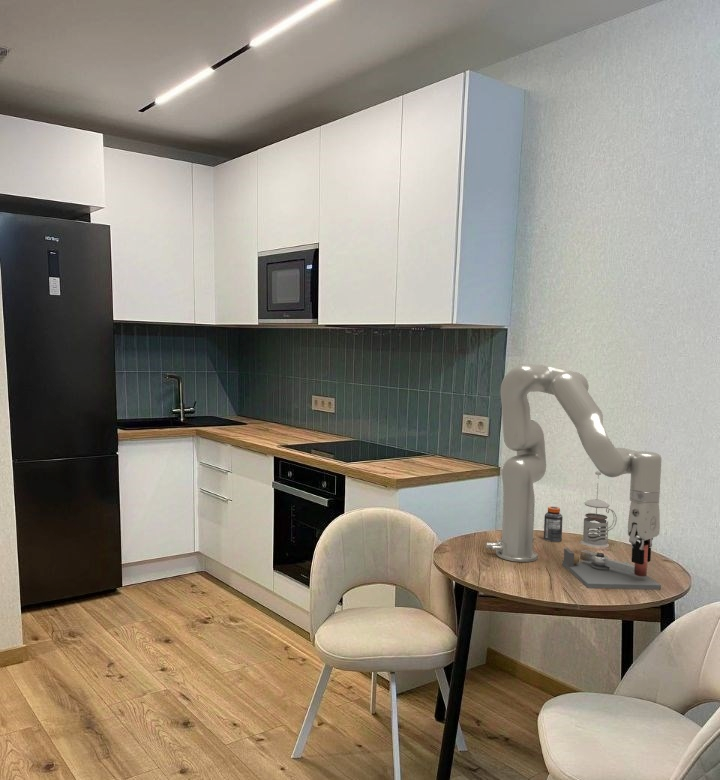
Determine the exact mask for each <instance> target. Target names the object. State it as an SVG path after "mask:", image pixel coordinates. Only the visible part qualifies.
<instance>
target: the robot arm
mask: <svg viewBox="0 0 720 780" xmlns="http://www.w3.org/2000/svg"><path fill="white" fill-rule="evenodd" d="M588 381H589V380H588V379H587V378H586V377H585V376H584V374H582V373H580V372H577V371H572V370H566V369H562V368H557V367H553V366H549V365H543V364H535V363H534V364H532V363H525V364H521V365H517V366H515V367H514V368H512V369H510V371H508V372H507V373H506V375H505V376H504V377H503V379H502V382H501V385H500V401H501V402H500V403H501V415H502V416H501V417H502V433H503V441H504V444H505V446H506V447H507V448H508V449H509V450H511V451H514V452H516V455H514V456H511V457H510V458H508V459H507V460H506V461H505V462H504V464H503V466H502V469H501V481H502V491H503V492H502V493H503V495H502V496H503V497H502V521H501V523H502V524H501V525H502V526H501V528H502V529H501V538H499V539H498V541H495V542H492V541H486V543H485V547H486V549H491V550H492V551H495V555H496V556H497V557H498V558H501V559H503V560H506V561H511V562H517V563H518V562H520V563H529V562H534V561H536V560H537V559H538V556H539V555H538V553H537V552H536V551H534V549H533V547H534V526H535V502H536V499H535V490H534V483H537V482H539V481H541V480H542V479H543V478H544V476H545V474H546V472H547V471H546V470H547V460H546V459H547V457H546V444H545V442H546V441H545V435H544V434H545V433H544V431H543V428H542V426H541V425H540V424H539V423H538V422H537V421H535V420H533V419H531V412H530V411H531V408H530V403H529V399H528V393H530V392H531V393H532V392H533V393H534V392H537V393H538V392H540V393H544V394H548V395H553V396H554V397H555V398H556V400H557V402H558V403H559V405H560V406H561V408H562V409H563V410H564V412H565V413H566V414H567V416H568V418H569V419H570V421H571V422H572V424H573V425H574V427H575V428H576V433H577V435H578V437H579V439H580V442H581V444H582V447H583V449H584V451H585V453H586V454H587V456H588V457H589V459H590V460H591V462H592V464H593V465H594V467H595V468H596V469H597V471H600V472H601V475H604V476H605V477H608V478H617V477H619V476H622V475H626V474H627V475H629V474H630V483H629V485H630V486H629V487H630V488H629V502H630V506H629V512H628V518H627V519H628V521H627V536H628V537H629V538H628V542H629V543H630V544H631V563H634V564H635V563H637V564H641V565H642V564H644V550H643V546H644V543H645V544H648V559H647V563H650V562H651V558H652V557H651V555H652V546H653V540H654V538H657V537H658V536H659V535H660V531H661V529H660V526H661V525H660V524H661V520H660V519H661V517H660V516H661V515H660V512H661V511H660V494H661V491H660V490H661V473H662V456H661V455H660V454H659V453H658V452H654V451H645V450H644V451H643V450H641V451H638V450H633V449H628V448H625V447H615V445H614V444H613V442H612V441H611V439H610V438H609V436H608V434H607V433H606V430H605V427H604V415H603V411H602V410H601V409H600V407H599V405H598V404H597V402H596V401H595V400H594V398H593V397H592V396H591V394H590V392H589V382H588ZM637 536H638V537H637Z"/></svg>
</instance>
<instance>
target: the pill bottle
mask: <svg viewBox="0 0 720 780" xmlns="http://www.w3.org/2000/svg"><path fill="white" fill-rule="evenodd" d="M543 524H544V525H543V540H545V541H546V542H551V541H552V543H559V542H562V539H563V514H561V508H560V507H559V506H547V512H546V513H544V523H543Z"/></svg>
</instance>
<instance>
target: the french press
mask: <svg viewBox="0 0 720 780" xmlns="http://www.w3.org/2000/svg"><path fill="white" fill-rule="evenodd" d="M594 474H595V475H597V478H599V476H601V475H602V473H601V472H600V471H599V470H596V471H595V472H594ZM596 485H597V487H596V489H597V490H596V498H593V499H589V500H586V501H584V502H583V504H584V505H585V506H586V507H590V508H595V513H593V512H592V513H591V512H589V513H585V514H584V516H585V518H583V528H582V529H583V530H582V531H583V532H582V536H583V537H582V539H581V540H580V541H579V544H580V543H581V544H580V545H582V544H584V545H587V546H592V547H608V546H609V545H610V544H609V543H608V540H609V531H611V530H613V529H614V528H615V526H616V524H617V518H618V517H617V515H616V512H615V511H614V510H613V509H611V508H609V507H610V504H609V503H608V502H606V501H605V500H603V499H598V494H599V484H596ZM598 509H605V512H606V513H607V514H609V512H610V511H611V513H612V515H613V517H614V518H615V519H613V521H612V523H611V525H610V526H609V520H608V521H607V519H608V516H607V515H605V514H602V513H598ZM593 521H594V522H593ZM584 545H583V546H584ZM587 546H586V547H587ZM592 547H591V548H592Z"/></svg>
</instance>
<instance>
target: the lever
mask: <svg viewBox="0 0 720 780" xmlns="http://www.w3.org/2000/svg"><path fill="white" fill-rule="evenodd" d="M643 550H644V564H642V565H641V564H637V563H634V565H633V564H631V563H630V564H627V563H624V562H625V561H620V560H617V559H613V558H609V556H608V555H605V553H603V552H593V551H590V550H586V549H584V550H581V551H580V552H579V553H580V554H579V555H580V556H579V559H580V561H588V562H592V564H594V565H597V566H608V567H612V568H615V569H619V570H622V571H626V572H629V573H633V574H635V575H637V576H648V562H647V559H648V544H645V543H644V546H643Z"/></svg>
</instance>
